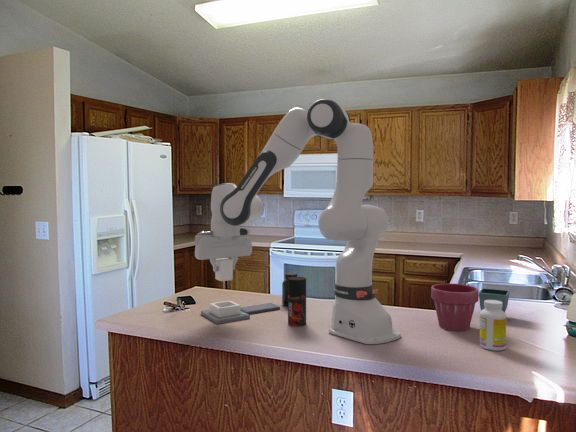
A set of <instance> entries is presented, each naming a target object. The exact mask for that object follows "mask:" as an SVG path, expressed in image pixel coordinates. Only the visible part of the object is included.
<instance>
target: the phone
mask: <svg viewBox="0 0 576 432" xmlns="http://www.w3.org/2000/svg"><path fill="white" fill-rule="evenodd" d="M240 310H241V311H243V312H245V313H247V314H249V315H254V313H255V314H259V313H266V312H273V311H278V310H281V306H279V305H276V304H274V303H272V302H268V303H262V304H256V305H255V304H254V305H249V306H243V307H240Z"/></svg>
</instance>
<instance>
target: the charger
mask: <svg viewBox="0 0 576 432" xmlns="http://www.w3.org/2000/svg"><path fill="white" fill-rule="evenodd" d="M215 264H216V266H219V271H217V272H214V274H215V277H214V278H215V280H217V281H219V282H226V281H233V279H234V275H233V273H234V272H233V271H234V270H233V259H232V258H230V257H228V258H217V259H216V262H215Z"/></svg>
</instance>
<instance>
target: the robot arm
mask: <svg viewBox="0 0 576 432" xmlns="http://www.w3.org/2000/svg"><path fill="white" fill-rule="evenodd" d="M313 137H319V138H323V139H325V140H326V139H327V140H331V141H335V143H336V147H337V159H336V160H337V163H336V166H337V167H336V182H335V183H336V184H335V188H334V192H333V195H332V198H331V200H330V202H329V204H328V205H327V207H326V208H325V209H323V210H322V211H321V213H320V215H319V219H318V229H319V232H320V234H321V236H322V237H324V238H325V239H327V240H330V241H334V242H346V244H345V247H344V249H343V251H342V252H341V253H340V254H338V256H337V258H336V261H335V263H336V265H335V266H336V267H335V268H336V270H335V275H336V276H335V280H336V281H335V283H334V287H333V290H334V295H335V300H334V303H333V305H332V314H331V325H330V328H329V329H328V333H329V334H331V335H334V336H338V337H341V338H345V339H348V340H350V341H351V340H352V341H356V342H357V343H361V344H365V345H377V344H385V343H390V342H393V341H396V340H398V339H399V338H400V337H401V335H402V334H401V332H399V331H397V330H395V329H394V328H393V321H392V316H391V313H389V312H388V311H387V309H385V308H384V306H383V305H382V303H381V302H380V301H379V300H378V299H377V298H376V297H377V295H376V294H378V293H379V292H378V291H379V289H375V287H374V284H373V281H372V278H373V259H374V254H375V252H376V248H377V245H378V243H379V241H380V238H381V237H382V236H383V234H384V233H386V230H387V229H388V226H389V217H388V215H387V212H386V211H385V209H383V208H382V207H381V206H376V205H373V204H363V200H364V197H365V196H366V194H367V192H368V191H370V190H371V188H372V186H373V185H374V159H375V158H374V143H373V135H372V132H371V129H370V127H368V126H367V125H365V124H364V123H360V122H357V123H356V122H351V118H350V115H349V113H348V112H347V110H345V109H344V107H343V106H342V105H341V104H339V103H337V102H336V101H334V100H333V99H329V98H322V99H318V100H316V101H315V102H313V103H312V104H311V105H310V107H309V108H308V111H307V110H305V109H304V108H300V107H293V108H292V109H290V110H289V111H287V113H286V114H284V116H283V118H282V119H281V120H280V122H279V123H278V124H277V126H276V127H275V129H274V130H273V132H272V134H271V135H270V137H269V139H268V140H267V142H266V144H265V146H264V147H263V148H262V151H261V152H260V153H259V155H258V156H257V157H256V159H255V160H254V161H253V163H252V164H251V166H250V167H249V169H248V170H247V171H246V173H245V174H244V176H243V177H242V179H241V180H240V182H239V183H238V184H237V185H236V184H235V183H233V182H227V183H220V184H216V185H215V186H214V187H212V191H211V198H210V211H211V220H210V231H199V232H198V233H197V234H196V235H195V236H194V242H195V247H194V257H195V258H196V259H197V260H200V261H202V260H203V261H204V260H205V261H206V260H209V262H210V264H211V266H212V271H213V272H214V273H215V272H217V271H219V266H216V264H215V262H216V259H220V258H231V259H232V260H233V271H234V270H236V264H237V262H238V260H239V257H250V256H251V255H252V253H253V243H252V238H251V236H249V235H251V230H250V229H249V228H246V227H242V226H241V225H242V224H247V223H250V222H254V221H256V220H258V219H260V218H261V217H262V216H263V215H264V212H265V211H264V210H265V204H264V200H263V199H262V198H261V197H260V196H259V195H258V193H259V191H260V190H261V188H262V187H263V186H264V184H265V183H266V181H267V180H268V179H269V178H270V177H272V175H274V174H275V173H278V172H280V171H282V170H285V169H287V168H289V167H291V165H293V163H294V162H295V161H297V159H298V158H299V156H300V155H301V153H302V152H303V150H304V148H305V147H306V145H307V144H308V142H309V141H310V140H311V139H312V138H313Z"/></svg>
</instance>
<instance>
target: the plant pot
mask: <svg viewBox="0 0 576 432" xmlns="http://www.w3.org/2000/svg"><path fill="white" fill-rule="evenodd" d="M430 290H431V291H430V295H431V299H432V300H433V302H434V308H435V313H436V317H437V321H438V326H439V327H440V328H441V329H444V330H447V331H453V332H463V331H468V330H470V326H471V323H472V318H473V315H474V311H475V307H476V303H478V302H479V288H478V287H476V286H474V285H473V286H472V285H468V284H464V283H437V284H433V285H432V286H431V287H430Z"/></svg>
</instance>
